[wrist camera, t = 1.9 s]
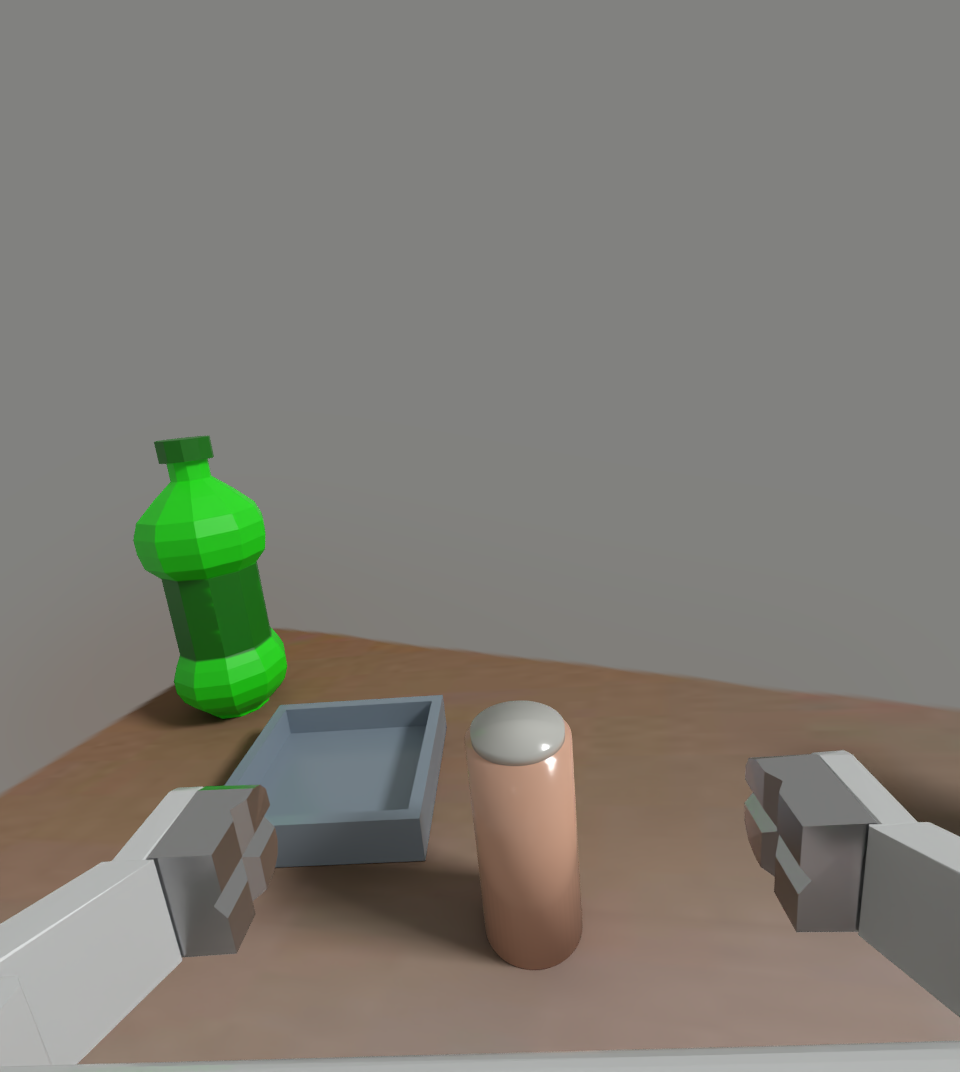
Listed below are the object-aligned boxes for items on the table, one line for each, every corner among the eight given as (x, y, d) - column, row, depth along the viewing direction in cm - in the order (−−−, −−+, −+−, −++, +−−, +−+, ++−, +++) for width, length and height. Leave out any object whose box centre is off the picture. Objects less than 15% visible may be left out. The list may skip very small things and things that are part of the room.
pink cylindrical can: (483, 971, 27) (460, 763, 24) (486, 882, 32) (466, 700, 29) (589, 968, 27) (577, 757, 24) (575, 878, 31) (564, 694, 29)
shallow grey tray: (204, 870, 34) (193, 829, 34) (286, 736, 48) (279, 705, 47) (425, 860, 34) (419, 818, 33) (446, 727, 47) (442, 694, 46)
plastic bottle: (206, 683, 58) (148, 439, 52) (308, 671, 59) (263, 428, 53) (159, 740, 49) (81, 450, 42) (282, 726, 49) (223, 437, 43)
